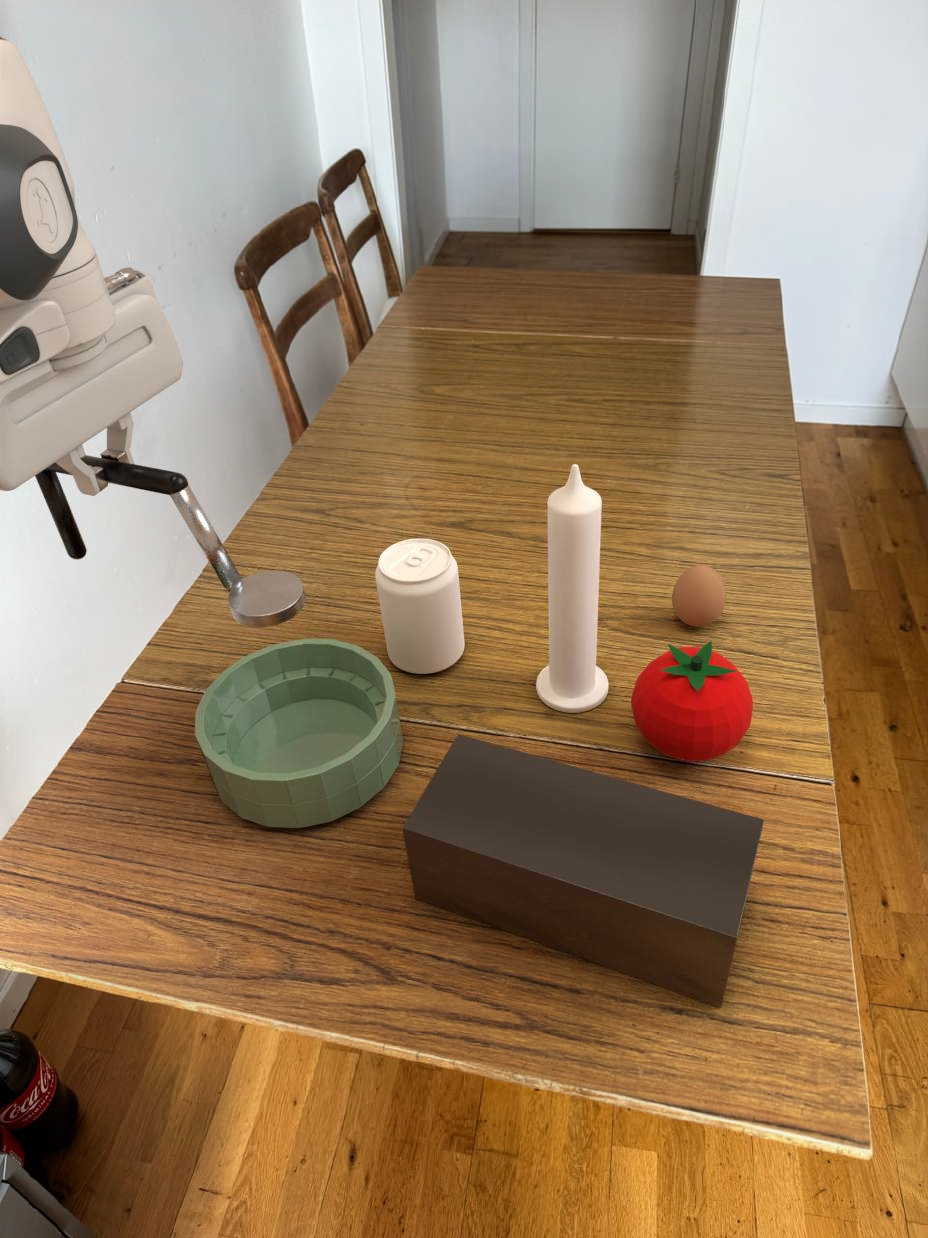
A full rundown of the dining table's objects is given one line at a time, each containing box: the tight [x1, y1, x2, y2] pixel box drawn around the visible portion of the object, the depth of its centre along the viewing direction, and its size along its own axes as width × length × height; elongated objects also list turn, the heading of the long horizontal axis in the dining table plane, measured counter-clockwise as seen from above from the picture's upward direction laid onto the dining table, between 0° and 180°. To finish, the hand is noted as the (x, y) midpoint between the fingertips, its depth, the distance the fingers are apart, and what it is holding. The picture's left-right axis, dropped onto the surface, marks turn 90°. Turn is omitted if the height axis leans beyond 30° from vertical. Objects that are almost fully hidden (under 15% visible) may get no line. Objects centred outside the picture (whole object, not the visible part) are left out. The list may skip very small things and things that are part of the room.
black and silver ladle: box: [34, 454, 307, 629], centre depth 71 cm, size 24×6×11 cm, turn 66°
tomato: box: [630, 640, 754, 762], centre depth 78 cm, size 10×10×10 cm
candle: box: [535, 463, 610, 714], centre depth 80 cm, size 7×7×25 cm
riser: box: [401, 733, 765, 1009], centre depth 67 cm, size 10×24×9 cm, turn 66°
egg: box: [671, 564, 727, 628], centre depth 92 cm, size 5×5×7 cm
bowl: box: [194, 638, 404, 829], centre depth 81 cm, size 18×18×7 cm
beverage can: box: [374, 537, 466, 675], centre depth 90 cm, size 8×8×12 cm
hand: (108, 480), depth 71 cm, fingers closed on black and silver ladle
